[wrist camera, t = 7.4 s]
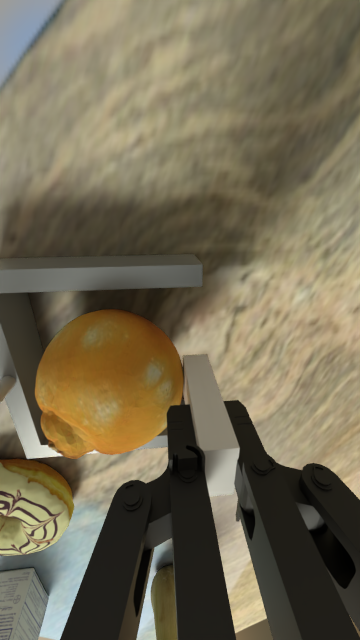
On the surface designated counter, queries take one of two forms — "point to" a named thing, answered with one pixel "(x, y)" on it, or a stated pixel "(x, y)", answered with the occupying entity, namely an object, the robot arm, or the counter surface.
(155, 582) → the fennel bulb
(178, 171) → the counter surface
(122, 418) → the fruit
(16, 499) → the decorated donut
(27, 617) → the medicine box
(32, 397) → the flagpole corner frame
